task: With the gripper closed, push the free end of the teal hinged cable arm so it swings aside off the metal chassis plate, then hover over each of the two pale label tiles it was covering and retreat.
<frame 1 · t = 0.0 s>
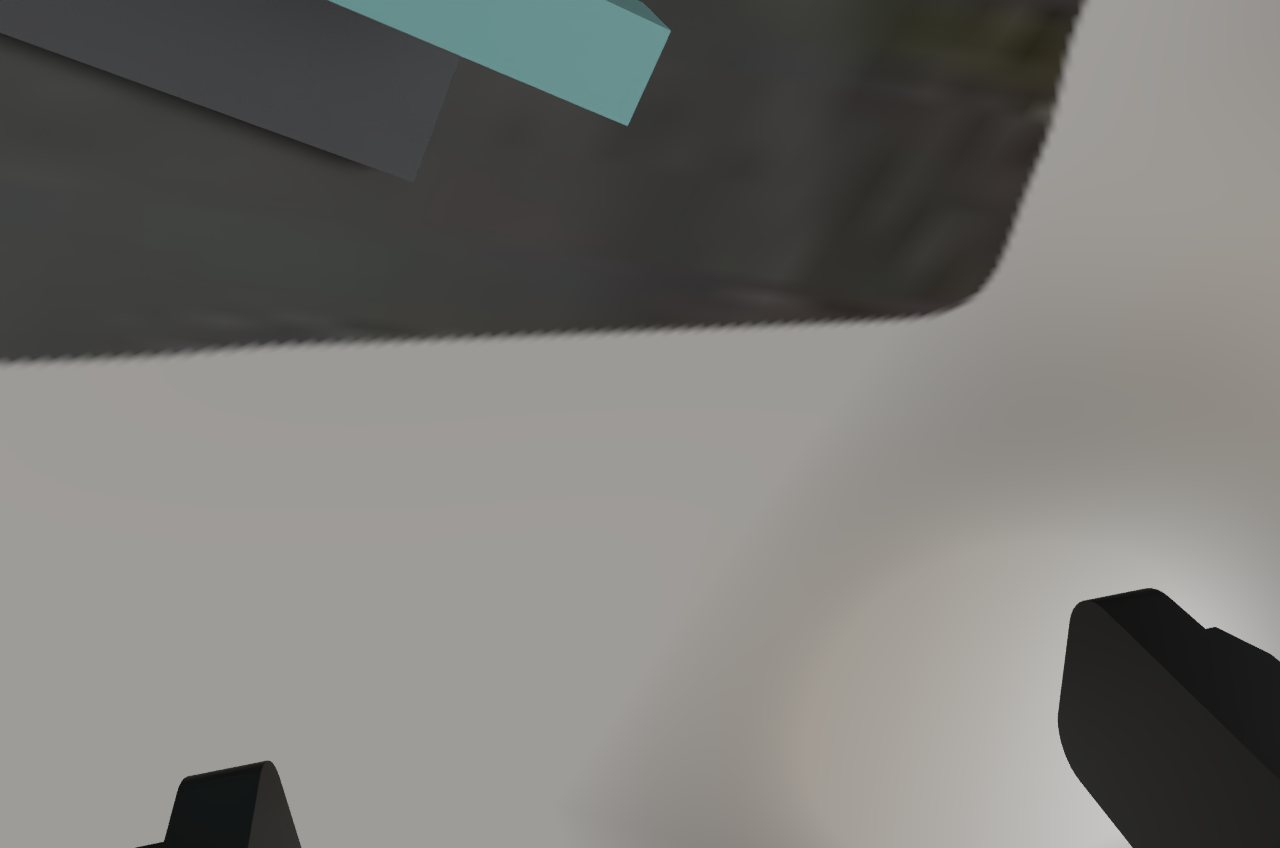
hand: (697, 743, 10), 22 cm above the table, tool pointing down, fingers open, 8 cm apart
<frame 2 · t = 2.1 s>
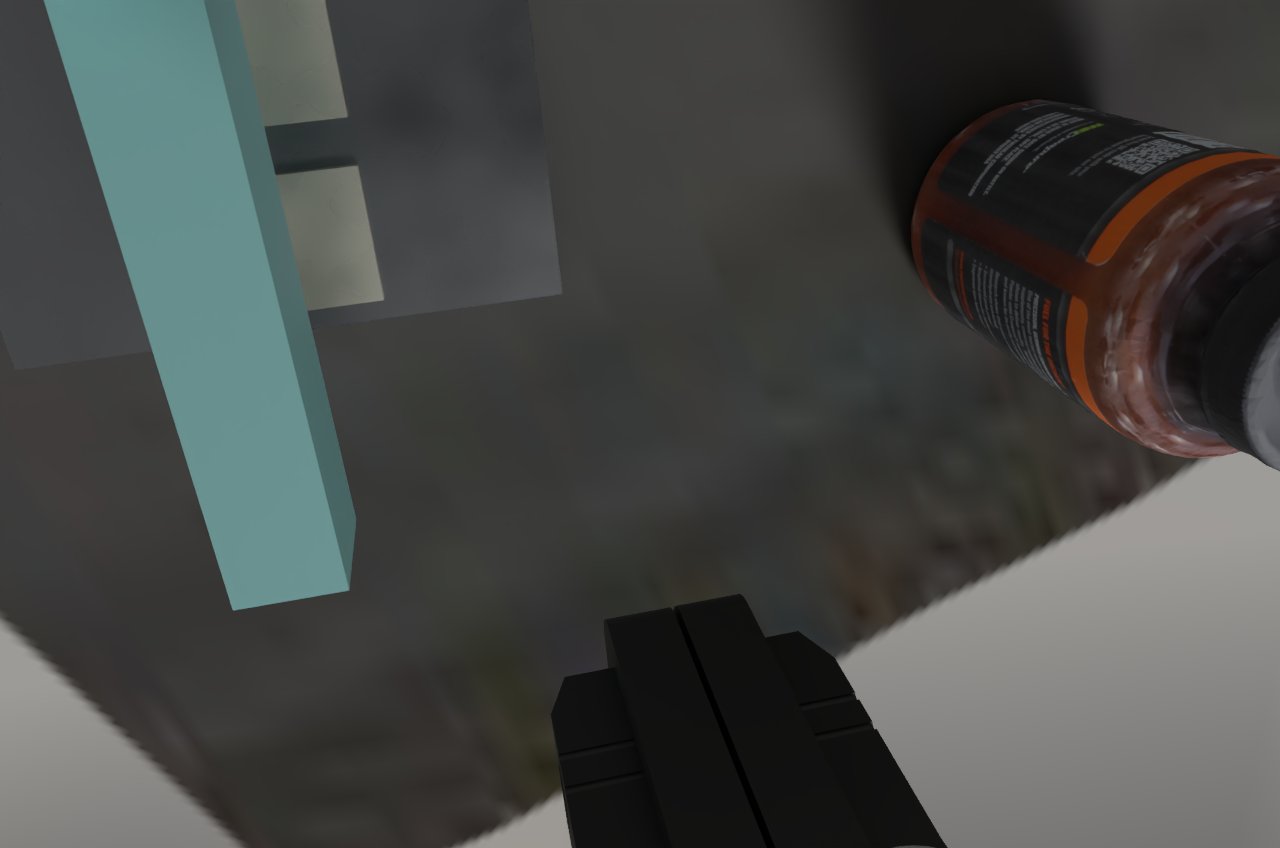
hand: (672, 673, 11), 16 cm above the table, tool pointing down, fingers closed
supplement bottle: (1005, 210, 28), on the table
chassis plate: (241, 42, 22), on the table
cable arm: (169, 179, 15), point 9 cm above the table, hinge at 0.0°
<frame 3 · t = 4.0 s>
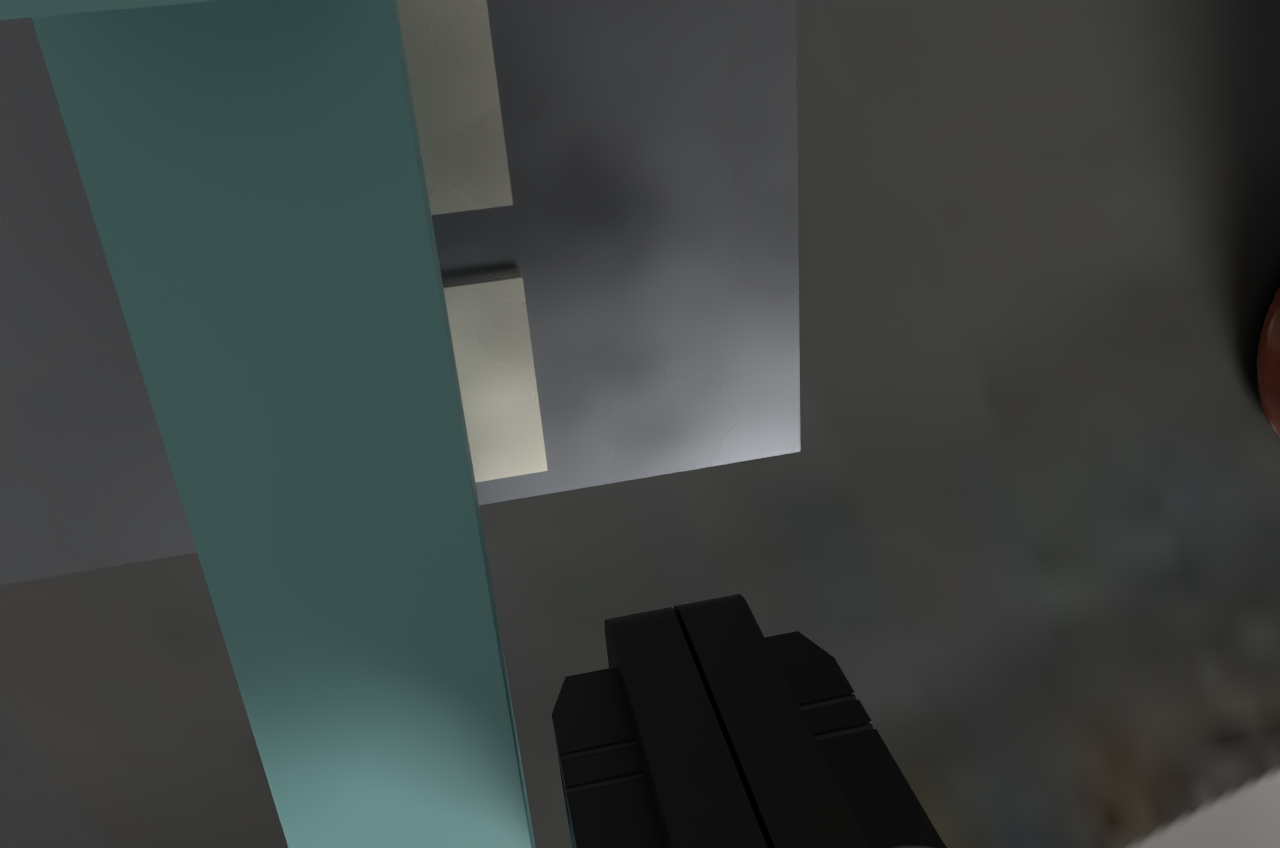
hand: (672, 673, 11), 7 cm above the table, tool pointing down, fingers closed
chassis plate: (341, 85, 14), on the table
cable arm: (305, 414, 7), point 9 cm above the table, hinge at 0.1°, touching gripper
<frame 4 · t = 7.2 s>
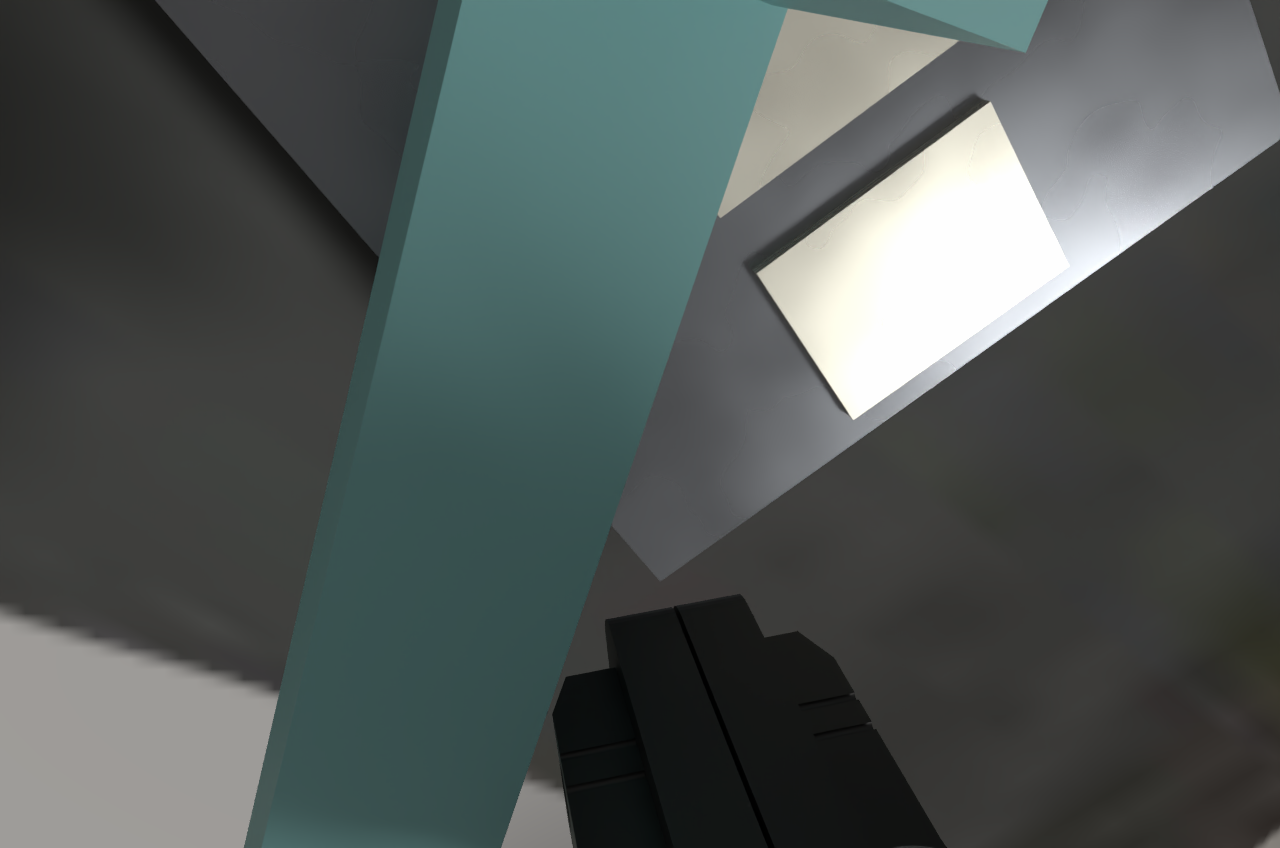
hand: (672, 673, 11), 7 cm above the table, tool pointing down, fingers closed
chassis plate: (745, 24, 15), on the table
cable arm: (532, 371, 7), point 9 cm above the table, hinge at 52.5°, touching gripper
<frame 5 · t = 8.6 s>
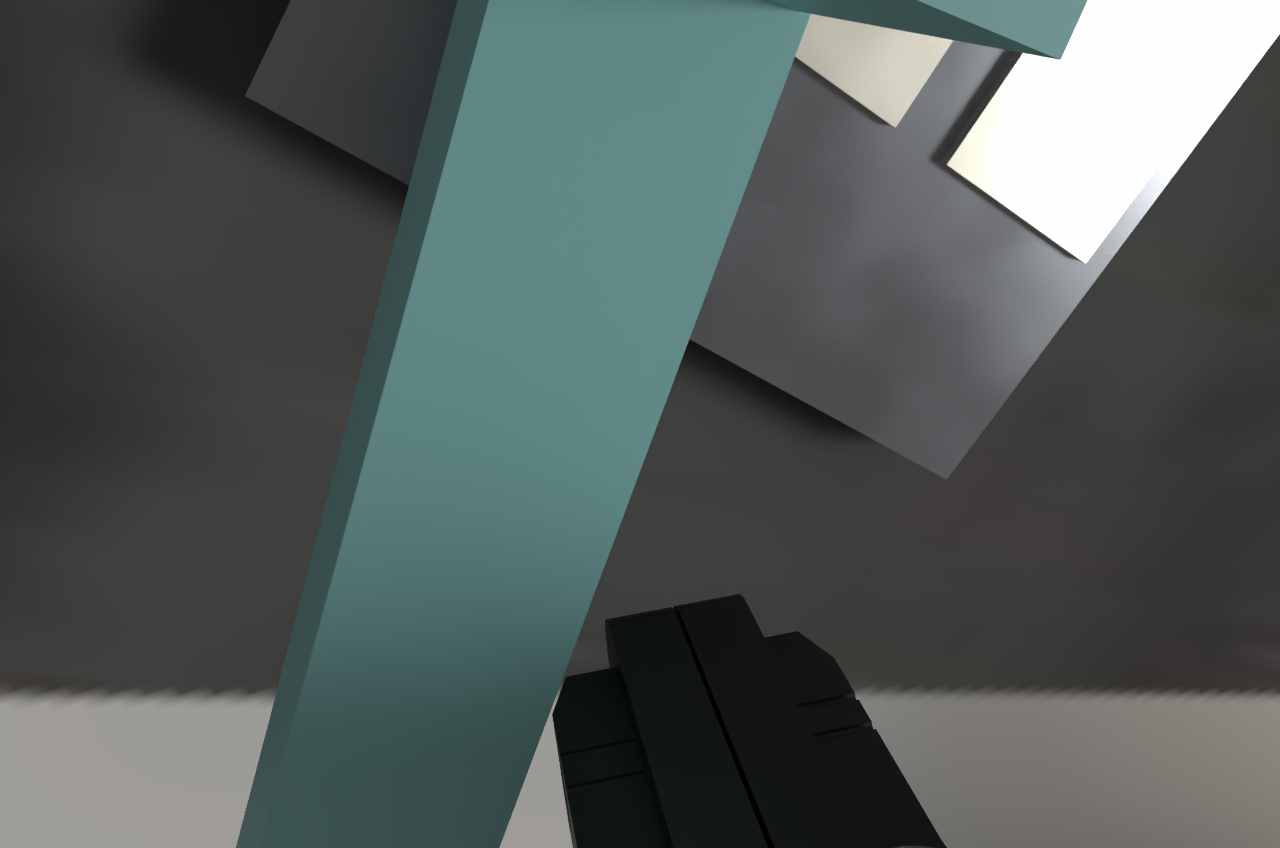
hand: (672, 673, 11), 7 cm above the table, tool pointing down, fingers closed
cable arm: (547, 368, 7), point 9 cm above the table, hinge at 77.0°, touching gripper
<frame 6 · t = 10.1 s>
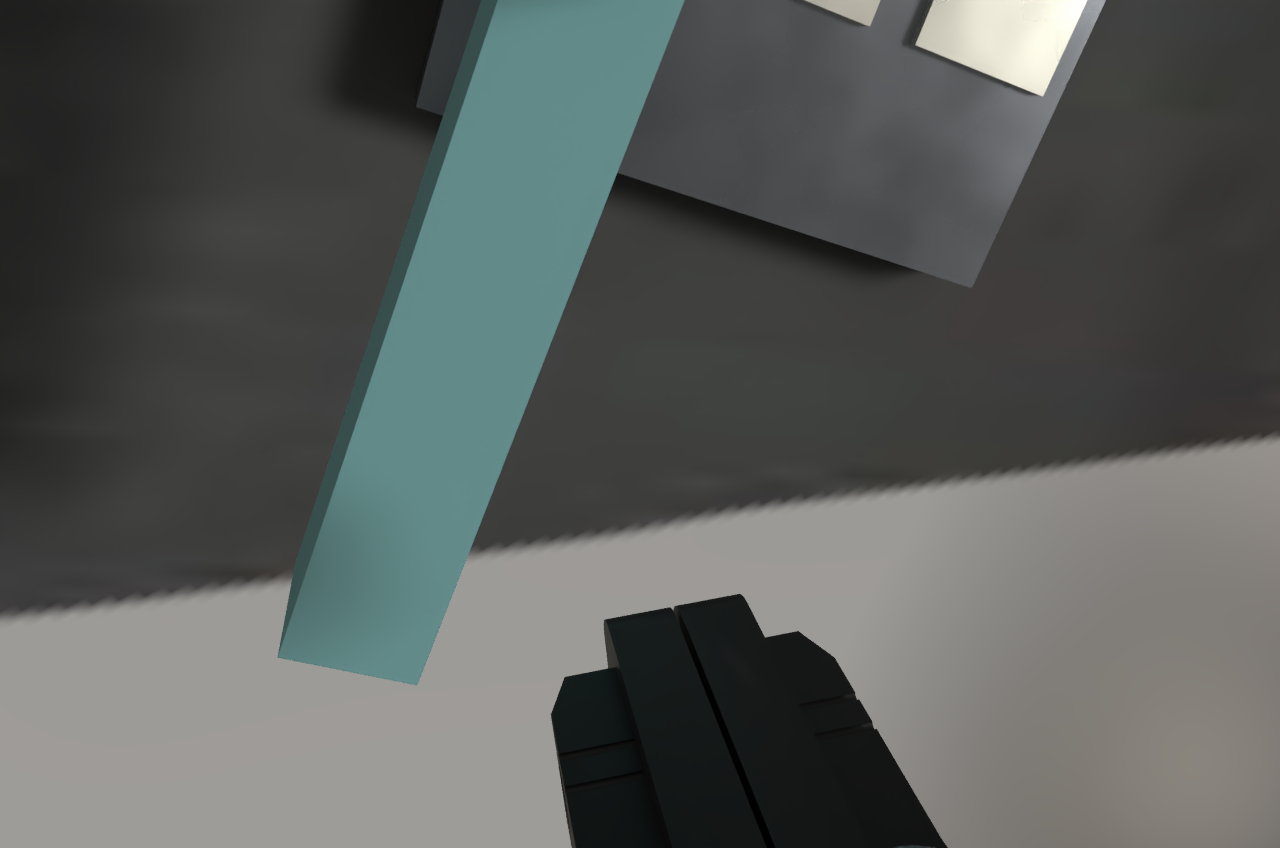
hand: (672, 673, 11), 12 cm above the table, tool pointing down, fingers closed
cable arm: (531, 178, 12), point 9 cm above the table, hinge at 93.0°
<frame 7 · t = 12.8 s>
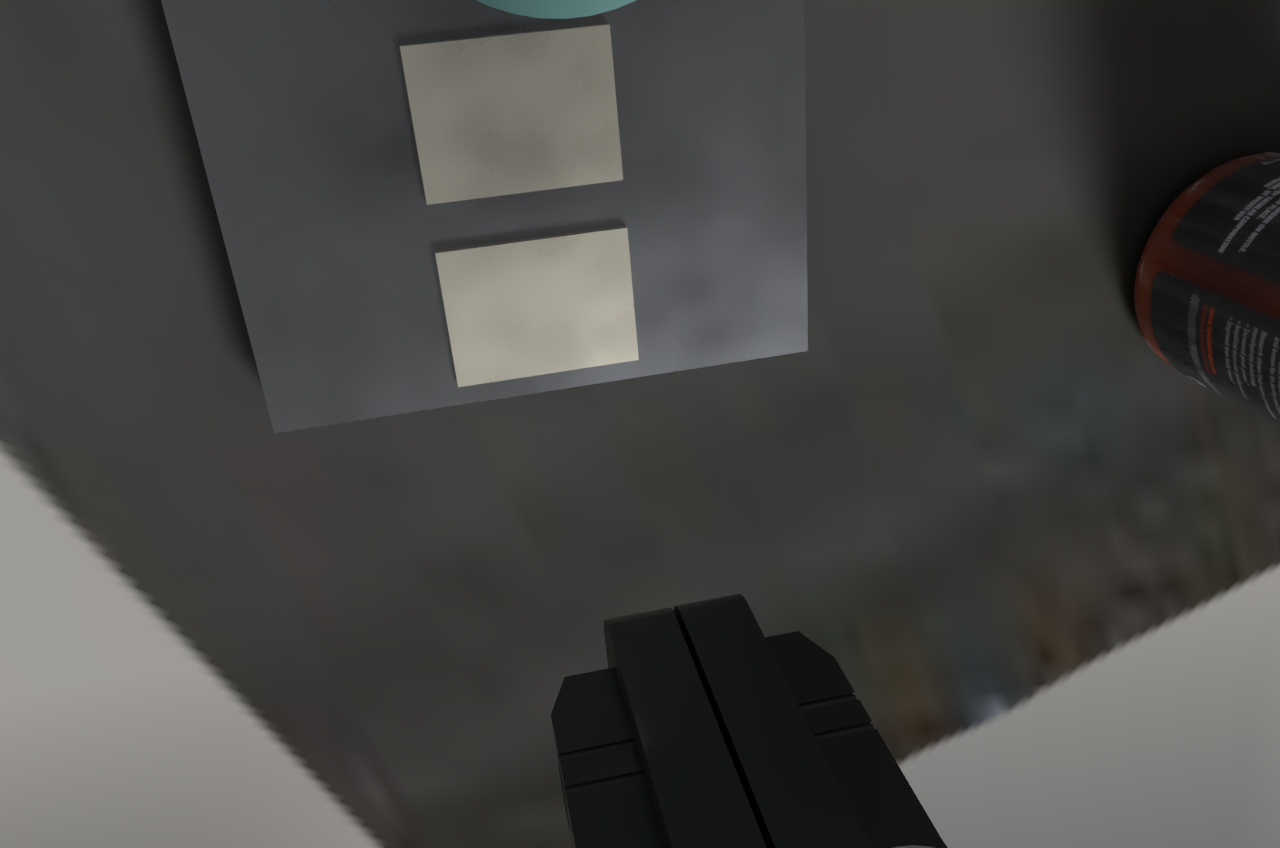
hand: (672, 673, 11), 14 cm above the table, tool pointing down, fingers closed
supplement bottle: (1221, 259, 27), on the table
chassis plate: (508, 103, 22), on the table
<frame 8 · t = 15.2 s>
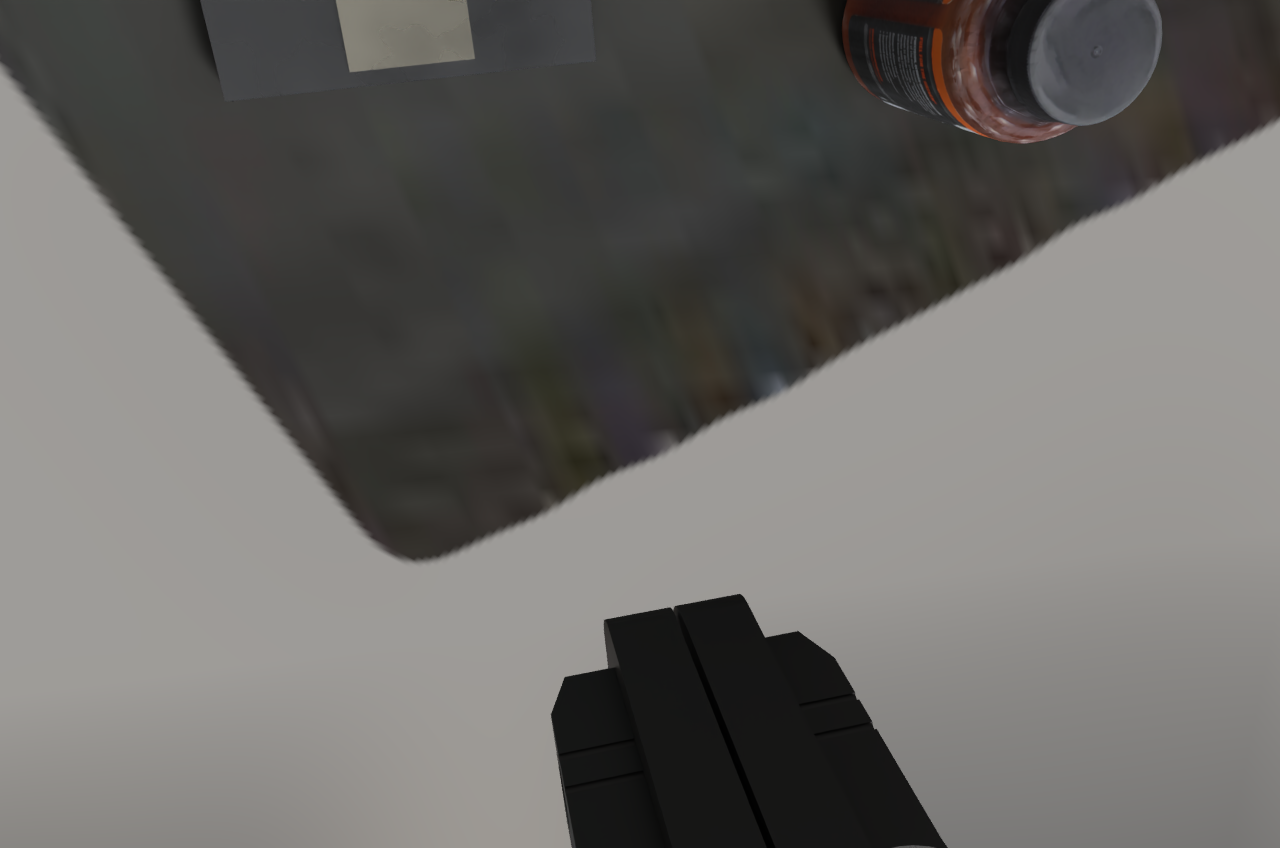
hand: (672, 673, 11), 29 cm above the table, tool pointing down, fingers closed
supplement bottle: (911, 20, 38), on the table
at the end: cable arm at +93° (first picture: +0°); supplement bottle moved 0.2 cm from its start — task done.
